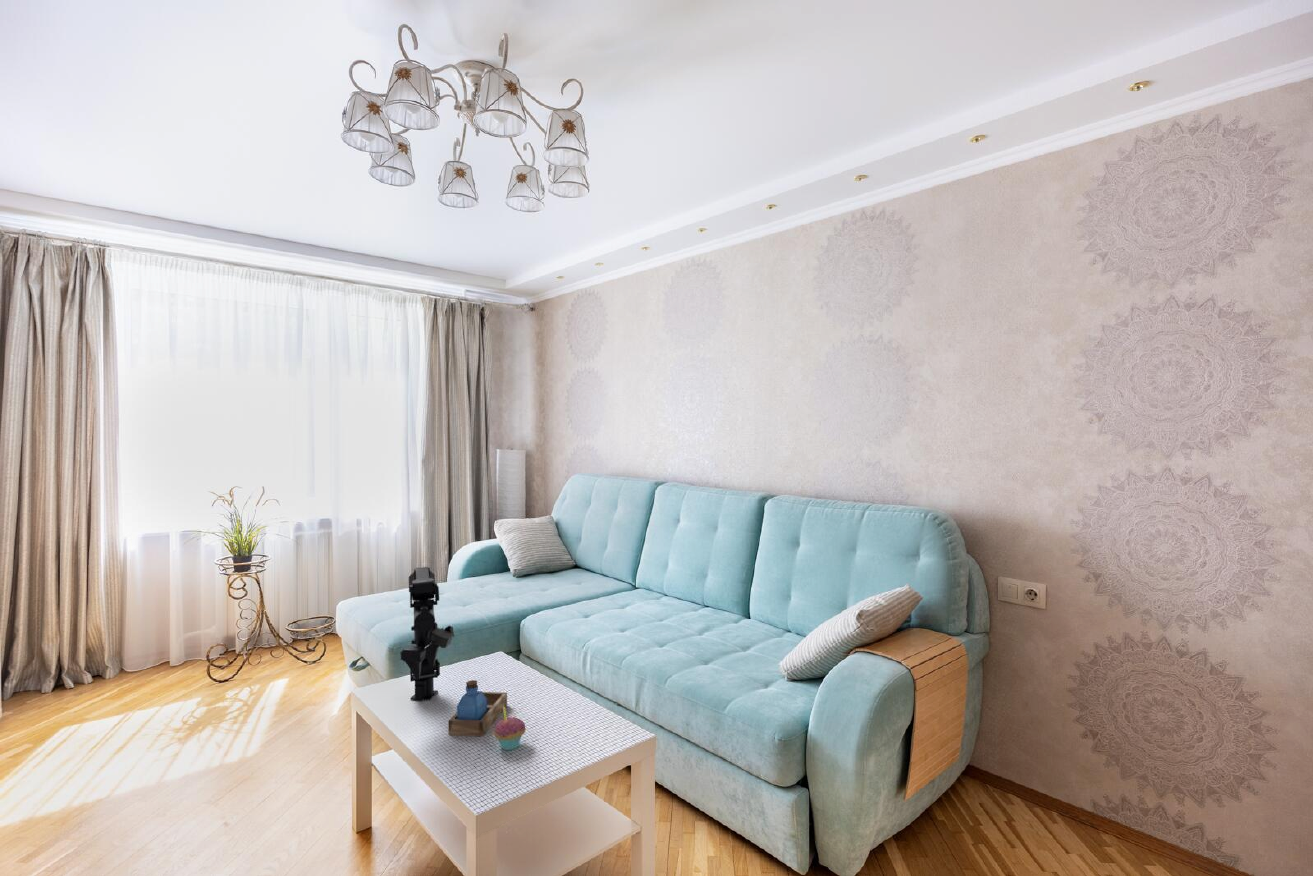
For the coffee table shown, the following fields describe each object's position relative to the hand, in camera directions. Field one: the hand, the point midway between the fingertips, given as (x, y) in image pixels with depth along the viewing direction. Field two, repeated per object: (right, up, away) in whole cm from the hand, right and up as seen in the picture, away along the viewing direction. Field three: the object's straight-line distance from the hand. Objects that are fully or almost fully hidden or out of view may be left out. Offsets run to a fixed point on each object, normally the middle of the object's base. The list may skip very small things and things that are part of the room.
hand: (424, 672), depth 186 cm
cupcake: (+31, -13, -19) cm, 38 cm away
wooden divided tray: (+18, -13, -4) cm, 22 cm away
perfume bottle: (+17, -12, -8) cm, 22 cm away
